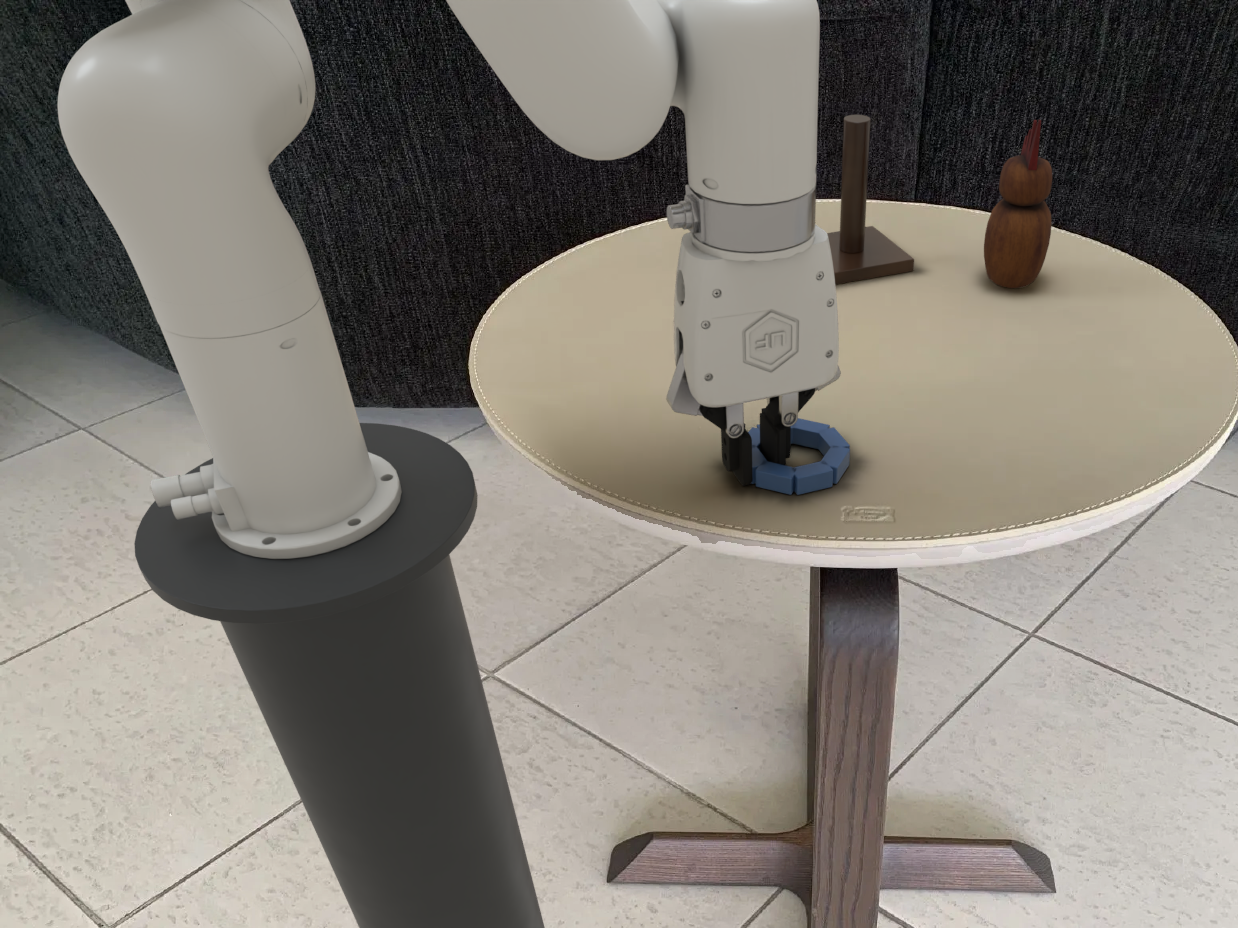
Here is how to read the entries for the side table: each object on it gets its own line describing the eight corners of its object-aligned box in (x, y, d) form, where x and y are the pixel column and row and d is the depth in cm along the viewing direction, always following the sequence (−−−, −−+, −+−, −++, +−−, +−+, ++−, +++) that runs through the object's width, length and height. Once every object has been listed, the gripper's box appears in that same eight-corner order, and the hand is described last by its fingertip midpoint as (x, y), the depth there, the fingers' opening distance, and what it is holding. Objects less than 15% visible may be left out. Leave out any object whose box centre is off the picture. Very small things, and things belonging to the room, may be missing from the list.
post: (828, 286, 100) (832, 139, 91) (790, 250, 106) (791, 110, 98) (913, 271, 103) (925, 127, 94) (872, 237, 109) (879, 99, 100)
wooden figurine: (1035, 300, 98) (1063, 128, 88) (973, 290, 99) (994, 120, 90) (1047, 271, 103) (1075, 106, 93) (988, 262, 104) (1010, 99, 95)
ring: (764, 503, 73) (764, 486, 72) (725, 447, 78) (724, 431, 77) (864, 479, 75) (865, 462, 74) (820, 427, 81) (820, 410, 80)
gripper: (644, 257, 59) (666, 525, 71) (899, 217, 64) (879, 475, 76) (607, 210, 64) (633, 467, 76) (845, 177, 69) (835, 424, 81)
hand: (756, 469), depth 76 cm, fingers closed on ring
